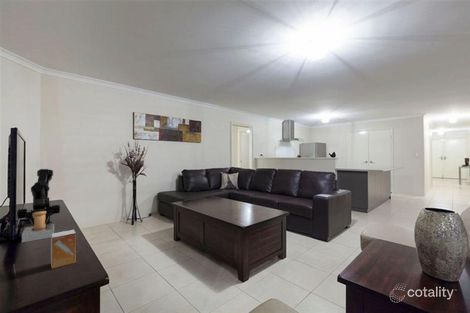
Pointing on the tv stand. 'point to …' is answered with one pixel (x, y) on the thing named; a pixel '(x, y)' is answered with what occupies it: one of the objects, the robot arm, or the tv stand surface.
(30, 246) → the tv stand surface
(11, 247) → the tv stand surface
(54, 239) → the small box
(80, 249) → the tv stand surface
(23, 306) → the tv stand surface
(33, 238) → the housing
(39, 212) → the plug
